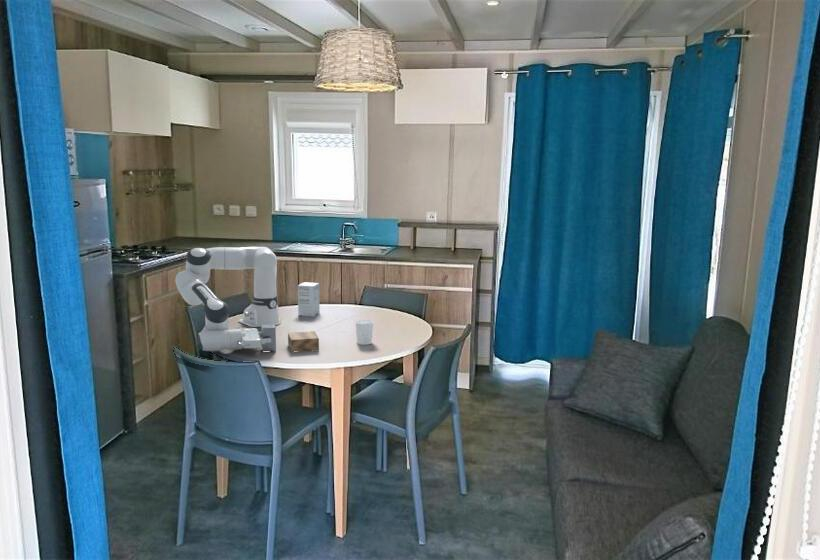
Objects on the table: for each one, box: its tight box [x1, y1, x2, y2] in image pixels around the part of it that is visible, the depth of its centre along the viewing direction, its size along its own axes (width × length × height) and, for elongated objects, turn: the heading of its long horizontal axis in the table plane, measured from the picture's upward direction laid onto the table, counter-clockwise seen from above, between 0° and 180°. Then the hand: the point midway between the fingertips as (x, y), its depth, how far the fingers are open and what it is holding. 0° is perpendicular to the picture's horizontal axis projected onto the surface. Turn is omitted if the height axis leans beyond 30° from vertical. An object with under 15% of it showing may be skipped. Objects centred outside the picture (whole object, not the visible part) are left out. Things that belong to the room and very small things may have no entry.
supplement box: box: [297, 281, 321, 317], centre depth 348 cm, size 10×9×17 cm
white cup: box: [355, 319, 374, 346], centre depth 294 cm, size 8×8×10 cm
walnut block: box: [287, 330, 320, 353], centre depth 285 cm, size 12×12×6 cm
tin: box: [260, 324, 277, 352], centre depth 280 cm, size 6×6×11 cm
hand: (269, 337), depth 280 cm, fingers open, 8 cm apart
